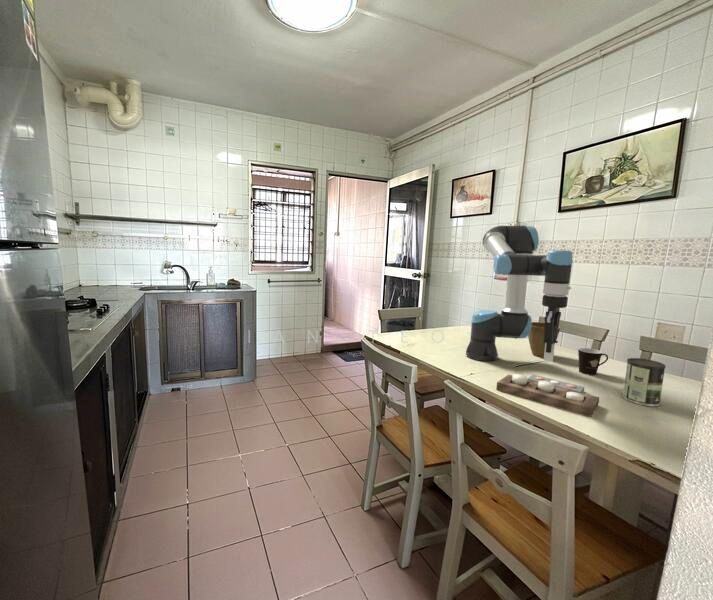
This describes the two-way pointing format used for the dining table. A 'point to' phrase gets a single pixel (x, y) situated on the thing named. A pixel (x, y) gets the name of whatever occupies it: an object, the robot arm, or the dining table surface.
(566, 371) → the dining table surface
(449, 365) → the dining table surface
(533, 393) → the button board
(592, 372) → the coffee mug
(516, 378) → the button left
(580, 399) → the button right
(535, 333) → the plant pot
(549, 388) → the button middle
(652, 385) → the coffee can
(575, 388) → the pattern sign
